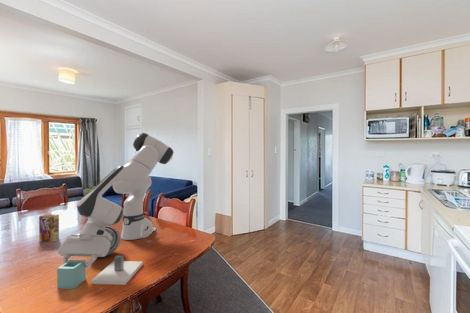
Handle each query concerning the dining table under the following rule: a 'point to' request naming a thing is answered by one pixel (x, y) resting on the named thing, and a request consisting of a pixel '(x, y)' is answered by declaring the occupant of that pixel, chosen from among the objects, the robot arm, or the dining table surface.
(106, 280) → the board
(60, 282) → the teal square hollow box
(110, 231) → the decorative orb
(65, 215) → the dining table surface
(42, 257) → the dining table surface
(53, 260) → the dining table surface
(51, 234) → the candy box
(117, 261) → the grey rectangular block
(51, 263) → the dining table surface
